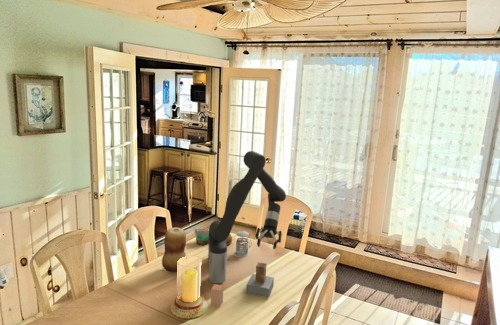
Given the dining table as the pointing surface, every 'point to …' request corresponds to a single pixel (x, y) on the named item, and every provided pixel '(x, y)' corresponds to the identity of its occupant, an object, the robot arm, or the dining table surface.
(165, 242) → the butternut squash
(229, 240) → the bread roll
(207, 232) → the food container
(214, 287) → the terracotta block
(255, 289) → the slate plinth
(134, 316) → the dining table surface
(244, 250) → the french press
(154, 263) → the dining table surface
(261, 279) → the walnut block
